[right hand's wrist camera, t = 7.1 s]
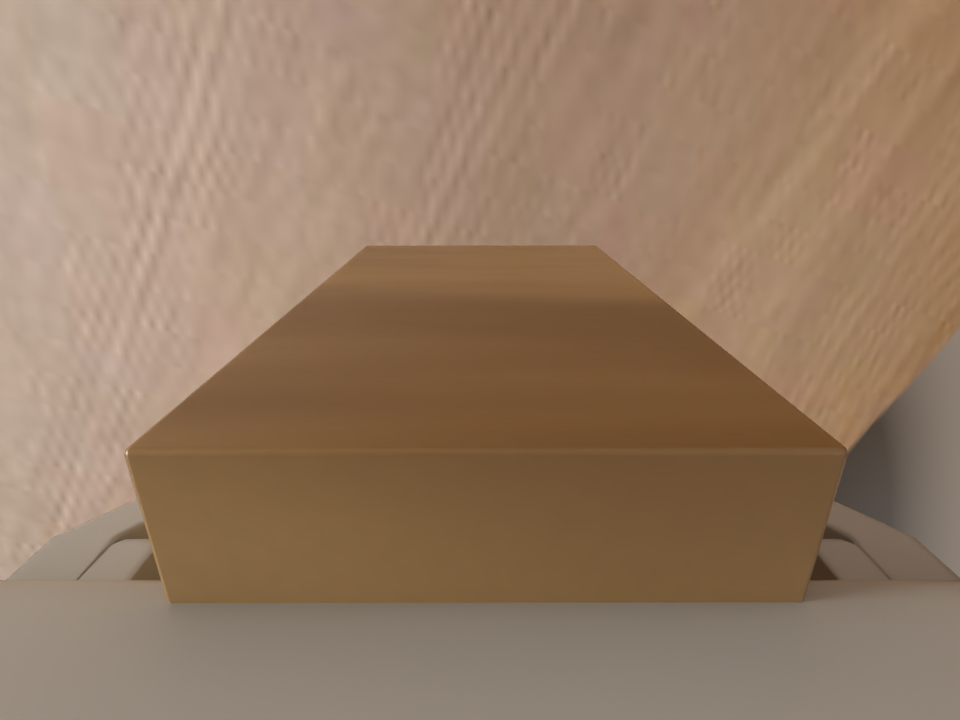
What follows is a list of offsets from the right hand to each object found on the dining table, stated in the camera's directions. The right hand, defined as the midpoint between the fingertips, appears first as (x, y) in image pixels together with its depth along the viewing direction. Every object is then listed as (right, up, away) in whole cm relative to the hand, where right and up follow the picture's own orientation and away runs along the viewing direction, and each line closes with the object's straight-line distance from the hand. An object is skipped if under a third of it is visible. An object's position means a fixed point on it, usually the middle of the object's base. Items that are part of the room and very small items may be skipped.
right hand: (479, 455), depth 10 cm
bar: (0, -7, +7) cm, 10 cm away
